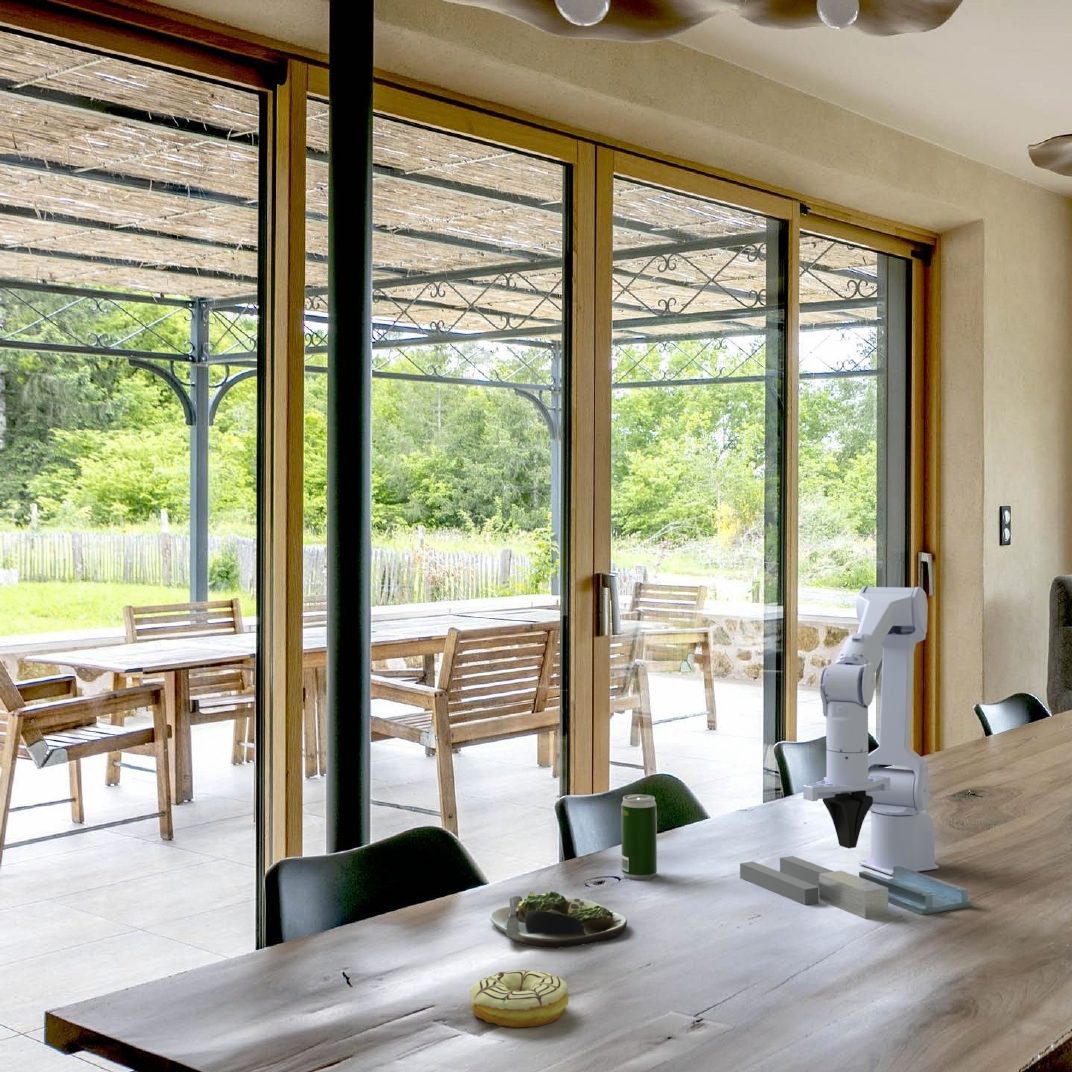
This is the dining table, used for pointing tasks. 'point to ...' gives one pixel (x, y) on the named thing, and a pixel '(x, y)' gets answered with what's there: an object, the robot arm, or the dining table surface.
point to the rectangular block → (853, 894)
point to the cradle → (920, 891)
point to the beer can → (639, 836)
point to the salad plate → (557, 921)
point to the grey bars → (787, 878)
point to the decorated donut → (519, 998)
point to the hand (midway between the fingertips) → (847, 846)
